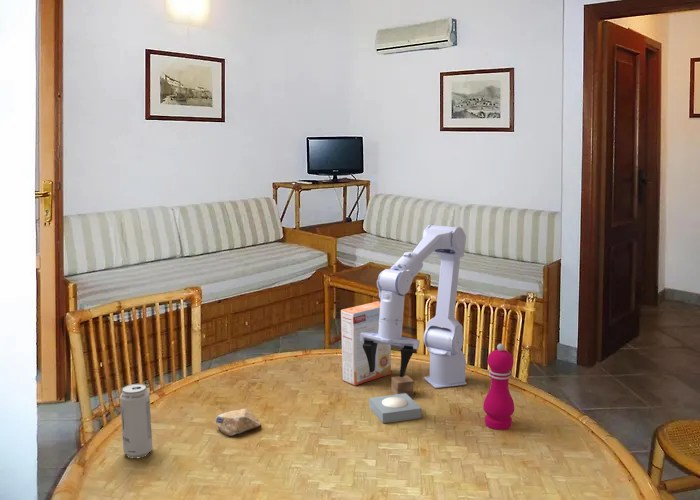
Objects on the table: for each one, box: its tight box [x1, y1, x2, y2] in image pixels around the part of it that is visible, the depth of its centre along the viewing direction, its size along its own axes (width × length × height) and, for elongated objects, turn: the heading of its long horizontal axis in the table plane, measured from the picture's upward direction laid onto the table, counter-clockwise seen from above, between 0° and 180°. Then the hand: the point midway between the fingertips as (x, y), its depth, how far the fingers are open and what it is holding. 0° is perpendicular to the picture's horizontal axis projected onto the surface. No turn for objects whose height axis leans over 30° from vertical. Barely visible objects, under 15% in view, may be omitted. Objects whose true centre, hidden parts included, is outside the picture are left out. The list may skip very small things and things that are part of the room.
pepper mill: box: [482, 343, 515, 431], centre depth 159 cm, size 7×7×20 cm
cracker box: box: [340, 301, 392, 387], centre depth 190 cm, size 14×6×21 cm, turn 130°
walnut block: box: [390, 374, 415, 399], centre depth 179 cm, size 4×4×4 cm
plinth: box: [368, 393, 422, 424], centre depth 168 cm, size 10×10×3 cm
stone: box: [214, 407, 262, 437], centre depth 159 cm, size 8×10×4 cm
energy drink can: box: [119, 383, 153, 459], centre depth 146 cm, size 6×6×15 cm
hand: (386, 373), depth 165 cm, fingers open, 7 cm apart
